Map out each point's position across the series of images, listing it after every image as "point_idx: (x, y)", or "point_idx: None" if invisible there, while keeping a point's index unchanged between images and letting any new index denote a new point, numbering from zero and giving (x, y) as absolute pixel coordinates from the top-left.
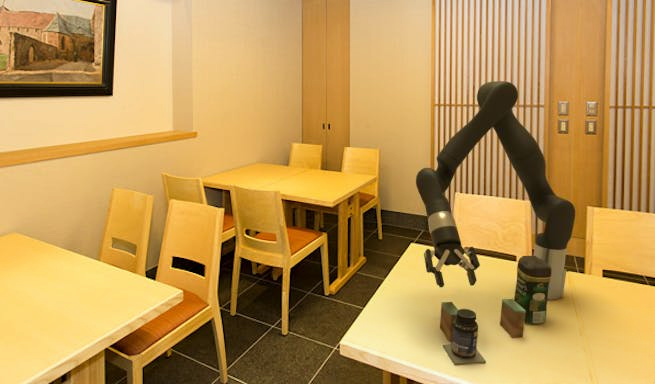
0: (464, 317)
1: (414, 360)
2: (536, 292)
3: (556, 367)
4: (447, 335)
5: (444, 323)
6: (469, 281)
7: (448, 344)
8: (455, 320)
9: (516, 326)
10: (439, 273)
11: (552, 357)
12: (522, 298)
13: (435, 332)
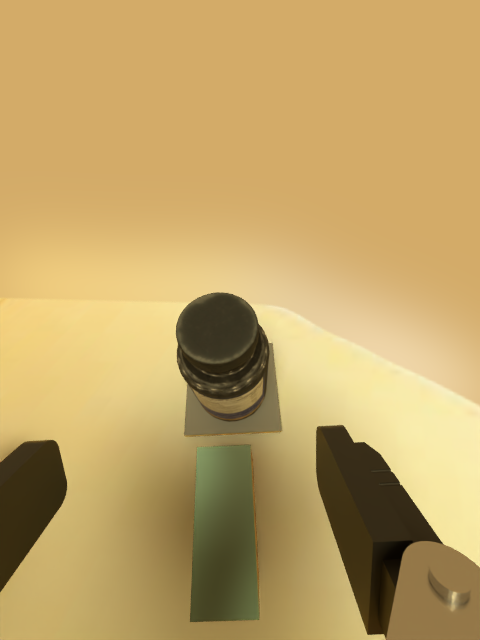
0: (239, 297)
1: (376, 369)
2: None
3: (38, 330)
4: (253, 478)
5: (255, 523)
6: (42, 520)
7: (263, 429)
8: (259, 356)
9: None
10: (395, 512)
11: (10, 366)
12: None
13: (285, 535)
